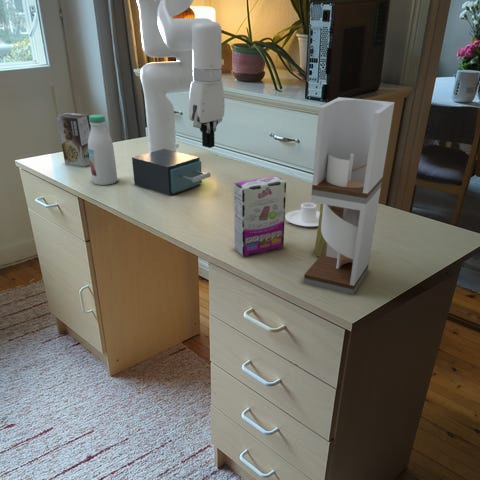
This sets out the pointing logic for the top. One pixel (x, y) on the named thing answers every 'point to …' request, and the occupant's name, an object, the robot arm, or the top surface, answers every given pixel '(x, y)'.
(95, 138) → the milk bottle
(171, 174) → the drawer
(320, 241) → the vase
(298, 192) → the top surface
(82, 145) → the printed cardboard box
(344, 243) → the tall two-tier shelf
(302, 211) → the candle holder
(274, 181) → the candy bar box
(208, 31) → the robot arm
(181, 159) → the cabinet
